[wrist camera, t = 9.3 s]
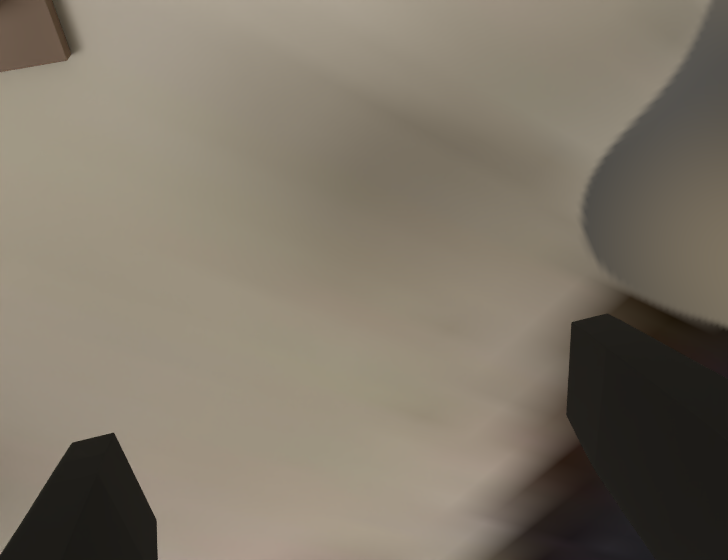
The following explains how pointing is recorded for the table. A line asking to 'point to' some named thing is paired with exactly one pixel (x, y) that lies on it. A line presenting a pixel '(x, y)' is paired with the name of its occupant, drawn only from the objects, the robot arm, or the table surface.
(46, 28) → the holder
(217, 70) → the table surface
